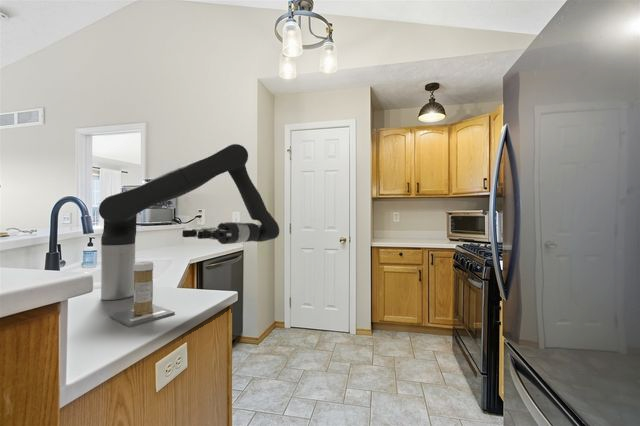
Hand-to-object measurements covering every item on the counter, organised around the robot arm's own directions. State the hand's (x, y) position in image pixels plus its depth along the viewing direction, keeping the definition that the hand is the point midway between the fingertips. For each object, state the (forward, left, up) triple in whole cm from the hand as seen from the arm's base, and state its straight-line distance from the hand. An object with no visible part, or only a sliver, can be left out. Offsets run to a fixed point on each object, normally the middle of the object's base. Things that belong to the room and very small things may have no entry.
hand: (190, 234), depth 90 cm
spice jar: (+2, -14, -20) cm, 25 cm away
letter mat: (+2, -15, -21) cm, 25 cm away
